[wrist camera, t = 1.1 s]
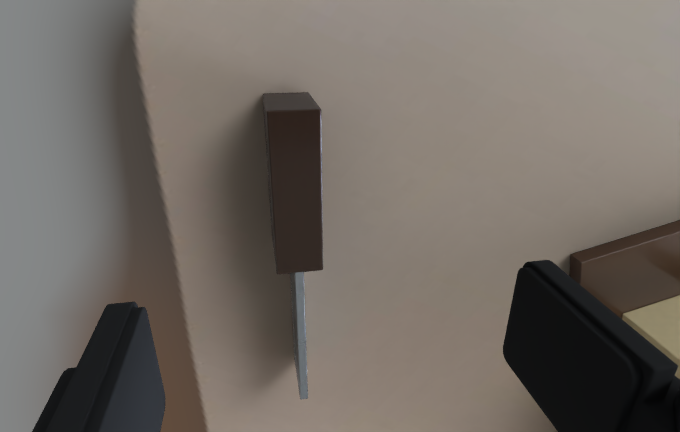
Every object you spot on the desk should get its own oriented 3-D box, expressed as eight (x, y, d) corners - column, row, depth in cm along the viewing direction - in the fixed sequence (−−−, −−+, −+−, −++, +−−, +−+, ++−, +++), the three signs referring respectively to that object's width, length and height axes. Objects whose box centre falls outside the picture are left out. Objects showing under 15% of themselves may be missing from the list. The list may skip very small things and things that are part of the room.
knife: (262, 93, 19) (266, 111, 16) (308, 92, 20) (321, 109, 16) (280, 359, 26) (285, 408, 23) (314, 355, 26) (324, 402, 23)
